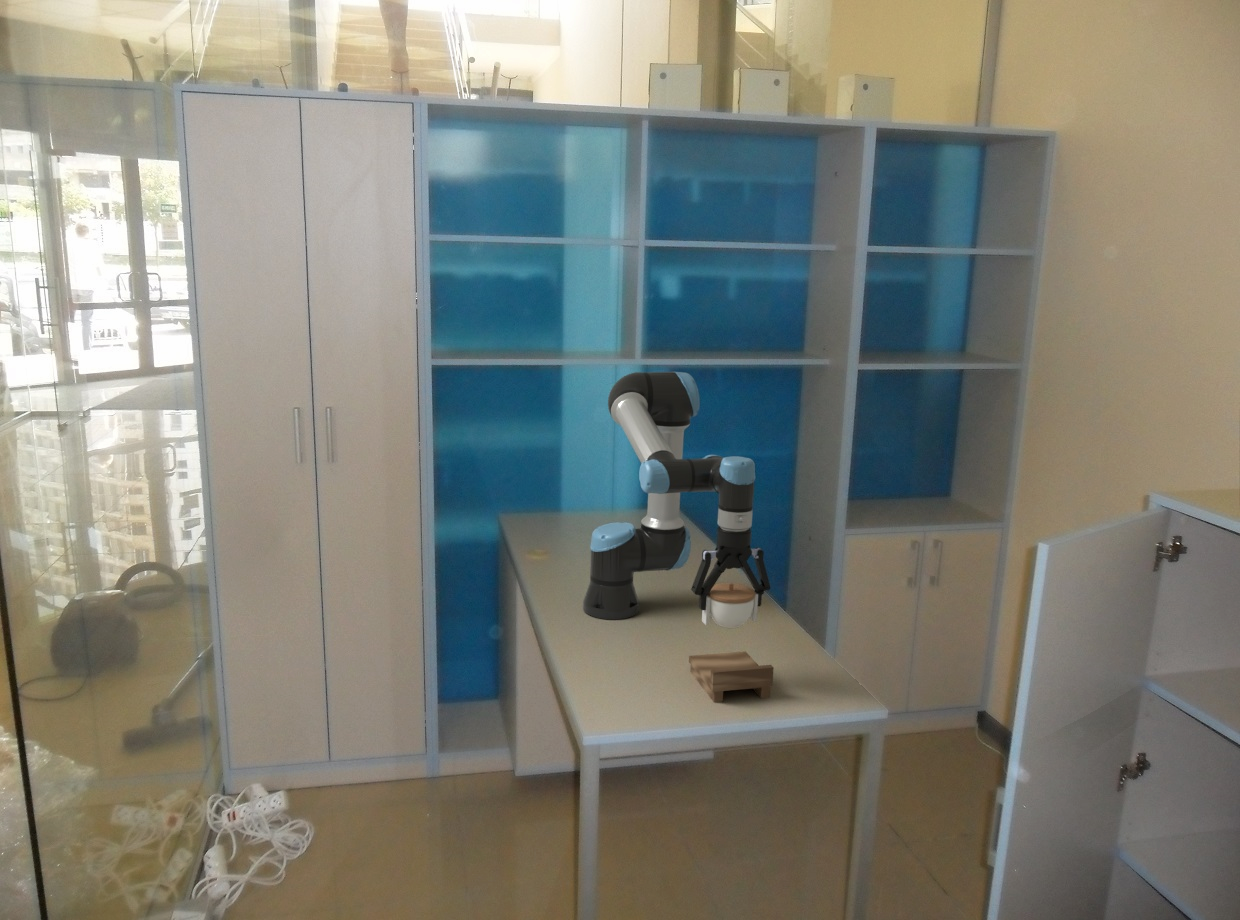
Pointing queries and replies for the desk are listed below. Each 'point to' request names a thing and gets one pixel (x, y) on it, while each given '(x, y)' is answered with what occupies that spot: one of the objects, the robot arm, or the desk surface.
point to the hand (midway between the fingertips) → (729, 621)
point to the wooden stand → (730, 674)
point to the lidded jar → (731, 604)
